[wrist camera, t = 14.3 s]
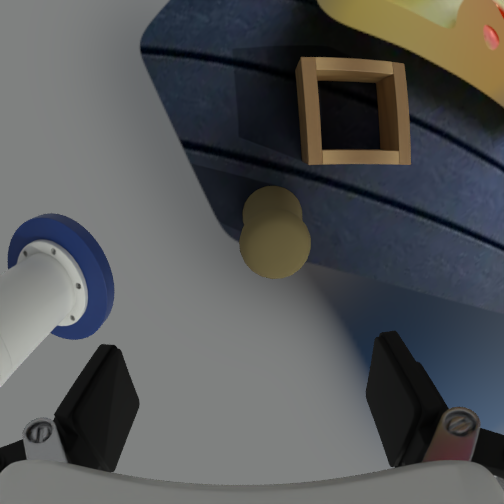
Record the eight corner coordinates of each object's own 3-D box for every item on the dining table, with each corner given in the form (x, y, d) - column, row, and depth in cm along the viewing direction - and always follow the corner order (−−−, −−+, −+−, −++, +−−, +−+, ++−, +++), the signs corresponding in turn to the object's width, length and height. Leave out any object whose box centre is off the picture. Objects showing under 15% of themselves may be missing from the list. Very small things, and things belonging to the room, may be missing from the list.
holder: (301, 161, 30) (308, 164, 25) (295, 69, 27) (300, 56, 22) (390, 160, 30) (410, 164, 25) (385, 73, 27) (404, 63, 22)
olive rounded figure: (314, 213, 32) (337, 248, 21) (274, 255, 33) (278, 306, 23) (269, 173, 31) (272, 188, 20) (230, 217, 32) (213, 254, 22)
